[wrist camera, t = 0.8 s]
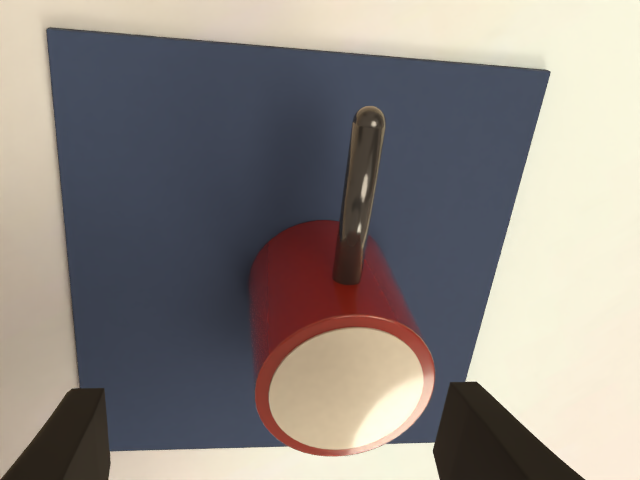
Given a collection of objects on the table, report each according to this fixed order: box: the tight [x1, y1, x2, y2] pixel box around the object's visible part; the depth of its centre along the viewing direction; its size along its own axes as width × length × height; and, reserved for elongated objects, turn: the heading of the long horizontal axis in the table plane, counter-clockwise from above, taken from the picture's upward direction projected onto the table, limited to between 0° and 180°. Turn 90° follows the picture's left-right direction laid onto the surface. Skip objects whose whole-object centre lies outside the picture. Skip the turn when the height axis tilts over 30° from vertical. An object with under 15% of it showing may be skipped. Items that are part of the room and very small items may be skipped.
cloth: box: [46, 28, 550, 451], centre depth 23 cm, size 17×16×1 cm
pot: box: [248, 106, 435, 456], centre depth 19 cm, size 11×5×6 cm, turn 174°
